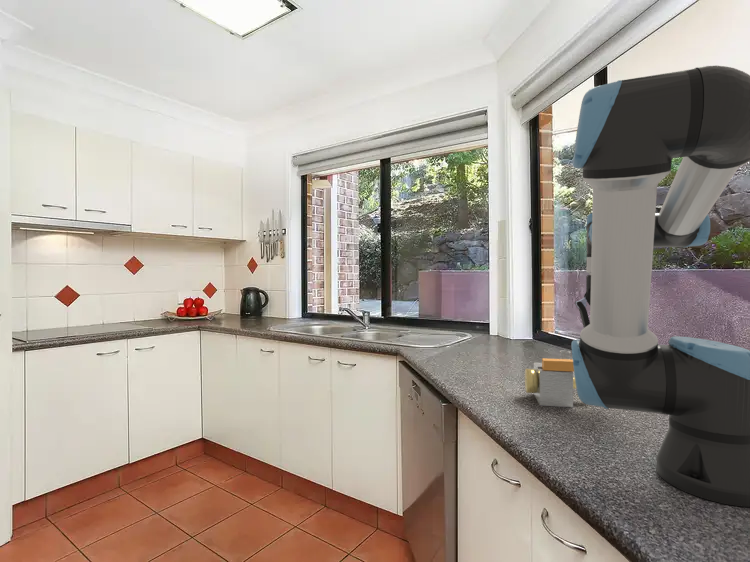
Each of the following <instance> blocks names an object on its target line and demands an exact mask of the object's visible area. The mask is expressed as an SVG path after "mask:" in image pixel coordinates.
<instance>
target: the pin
mask: <svg viewBox="0 0 750 562" xmlns="http://www.w3.org/2000/svg"><path fill="white" fill-rule="evenodd" d="M524 387H525V393H527V394H534V393H537V388H538V376H537V372H536V369H534V368H525V370H524ZM574 389H575V390H577V388H576V382H575V377H573V390H574Z"/></svg>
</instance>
